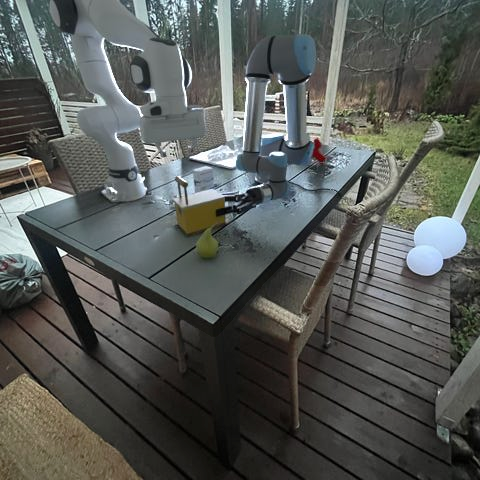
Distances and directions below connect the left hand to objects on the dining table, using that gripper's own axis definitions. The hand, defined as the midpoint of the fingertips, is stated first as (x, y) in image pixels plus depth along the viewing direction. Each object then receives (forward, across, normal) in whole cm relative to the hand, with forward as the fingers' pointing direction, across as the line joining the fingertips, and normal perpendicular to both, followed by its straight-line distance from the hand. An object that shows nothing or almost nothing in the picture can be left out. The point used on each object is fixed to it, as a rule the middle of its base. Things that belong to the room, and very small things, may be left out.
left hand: (178, 154), depth 86 cm
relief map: (+28, -57, -73) cm, 97 cm away
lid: (+17, -6, 0) cm, 18 cm away
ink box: (+28, -21, -28) cm, 45 cm away
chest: (+28, -6, 0) cm, 29 cm away
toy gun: (+28, -97, -36) cm, 107 cm away
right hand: (+22, -10, 0) cm, 24 cm away
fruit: (+28, +1, +19) cm, 34 cm away
